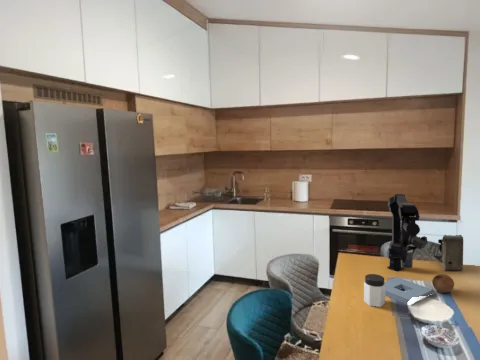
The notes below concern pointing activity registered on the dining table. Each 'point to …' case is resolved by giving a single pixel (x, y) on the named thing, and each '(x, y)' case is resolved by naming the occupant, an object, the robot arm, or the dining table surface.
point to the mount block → (414, 289)
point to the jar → (374, 290)
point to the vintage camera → (451, 252)
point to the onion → (443, 283)
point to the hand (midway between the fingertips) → (406, 261)
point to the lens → (408, 258)
